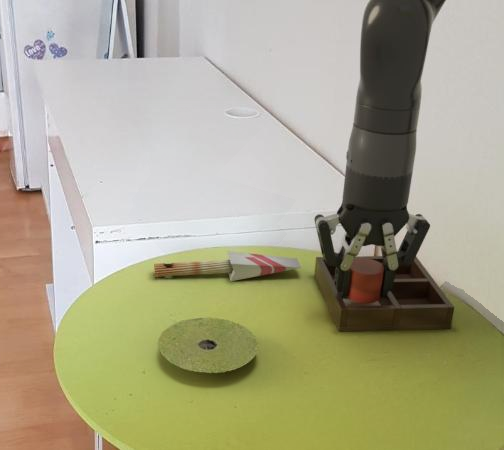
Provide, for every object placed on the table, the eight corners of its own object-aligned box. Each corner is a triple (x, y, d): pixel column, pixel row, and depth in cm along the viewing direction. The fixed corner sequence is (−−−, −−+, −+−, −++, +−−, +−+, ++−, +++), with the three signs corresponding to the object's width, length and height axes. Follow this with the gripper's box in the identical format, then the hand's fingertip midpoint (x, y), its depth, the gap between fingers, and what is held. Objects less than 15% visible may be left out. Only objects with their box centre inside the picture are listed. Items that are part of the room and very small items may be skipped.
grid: (412, 275, 105) (415, 255, 104) (450, 329, 92) (454, 307, 91) (313, 276, 104) (315, 256, 103) (338, 331, 91) (341, 309, 90)
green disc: (163, 328, 91) (163, 314, 90) (256, 332, 90) (257, 318, 90) (152, 383, 81) (152, 368, 80) (257, 389, 80) (258, 374, 79)
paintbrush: (302, 259, 101) (154, 267, 100) (301, 277, 103) (154, 285, 101) (297, 247, 105) (153, 254, 104) (296, 264, 106) (154, 272, 105)
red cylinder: (374, 285, 96) (378, 257, 94) (384, 303, 92) (388, 274, 90) (340, 286, 95) (343, 258, 94) (349, 303, 91) (353, 274, 90)
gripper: (326, 174, 82) (312, 309, 89) (452, 174, 84) (428, 307, 91) (311, 152, 89) (299, 279, 96) (428, 152, 90) (408, 278, 97)
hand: (362, 292), depth 93 cm, fingers closed on red cylinder, 4 cm apart
